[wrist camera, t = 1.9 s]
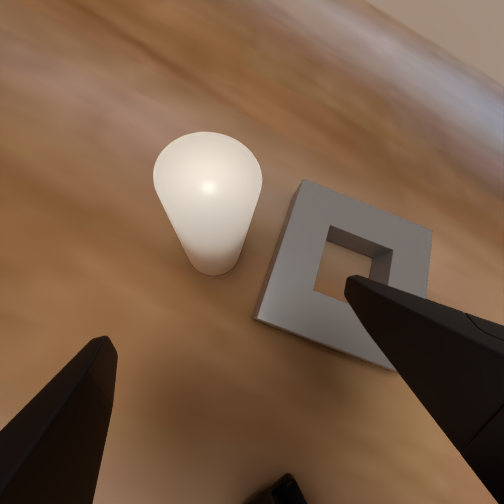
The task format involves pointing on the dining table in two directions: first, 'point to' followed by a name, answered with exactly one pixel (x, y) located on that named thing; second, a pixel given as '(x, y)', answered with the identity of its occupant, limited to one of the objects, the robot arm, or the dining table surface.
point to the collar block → (308, 260)
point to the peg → (209, 196)
